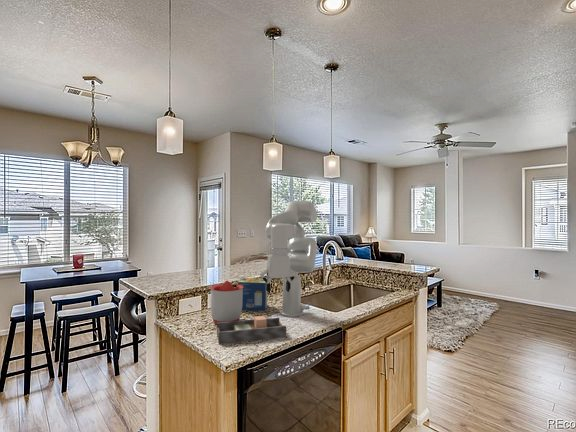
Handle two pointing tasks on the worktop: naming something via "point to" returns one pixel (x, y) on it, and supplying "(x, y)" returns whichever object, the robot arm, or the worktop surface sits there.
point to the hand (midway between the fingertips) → (278, 291)
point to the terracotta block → (260, 322)
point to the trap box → (249, 331)
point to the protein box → (253, 294)
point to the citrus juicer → (226, 302)
